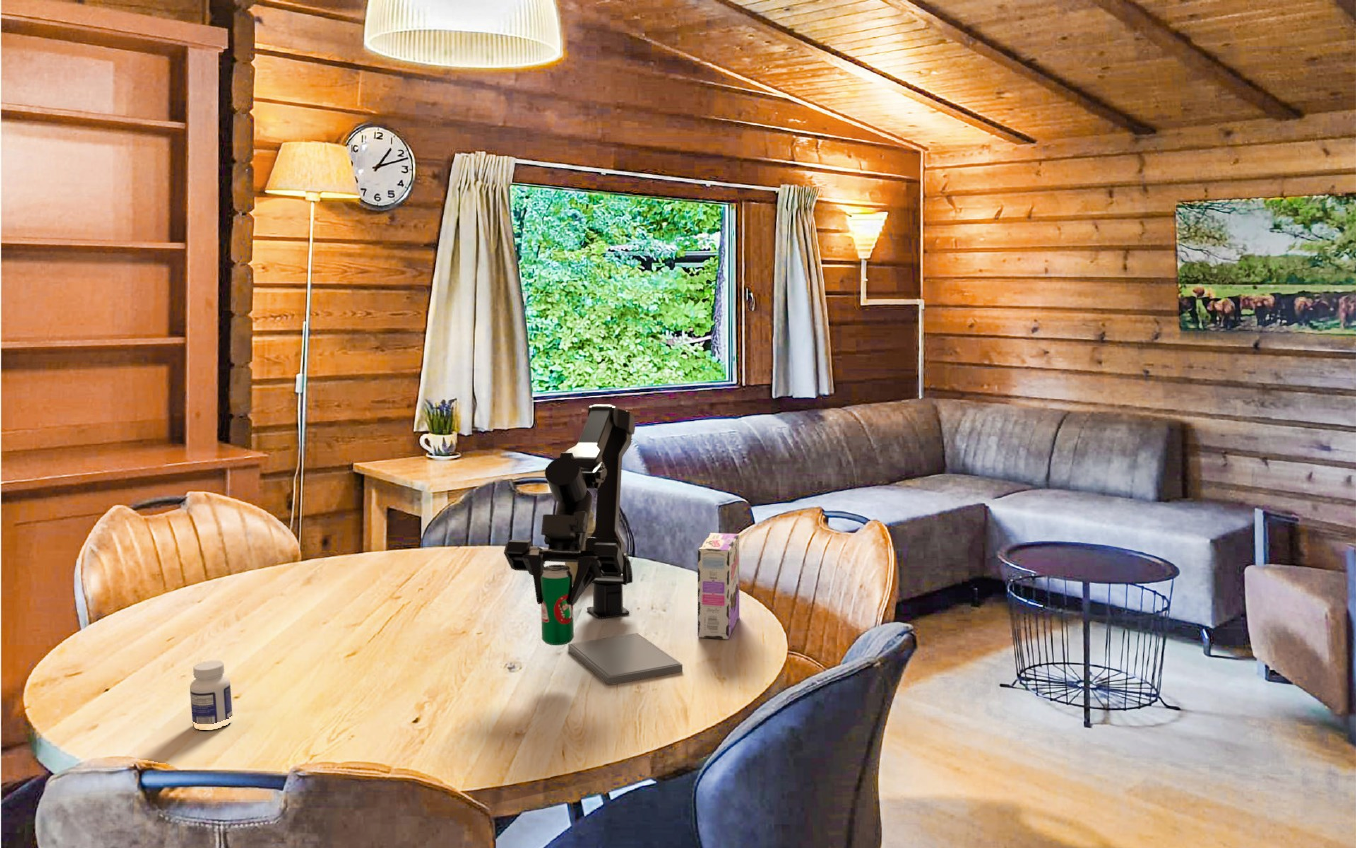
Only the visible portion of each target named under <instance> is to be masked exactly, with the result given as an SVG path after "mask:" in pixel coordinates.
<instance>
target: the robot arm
mask: <svg viewBox="0 0 1356 848" xmlns="http://www.w3.org/2000/svg"><path fill="white" fill-rule="evenodd" d="M635 431H636V419H635V416H634V415H633V414H632V413H631V412H630V411H629V410H625V409H621V408H619V407H618V406H616V405H613V404H593V405H589V407H588V411H587V419H586V421H585V424H584V427H583V429H582V431H581V434H580V435H579V436H580V437H579V439H578V442H577V444H576V445H575V446H573V447H570V448H569V449H567V450H566V451H565V452H564V451H562V452H560V455H559V457H557V458H555V459H553V460H551V461H550V463H548V465H547V466H545V469H544V477H545V479H546V482H547V484H548V487H549V489H550V492H551V495H552V498H553V499H554V501H556V502H557V506H556V510H555V513H554V514H548V513H547V514H546V513H545V514H543V515H542V522H541V531H540V532H541V533H540V534H541V535H542V536H544V538H543V542H544V544H545V545H548V548H541V547H540V546H534V545H533V542H532V540H530V539H528V540H525V539H510V540H509V541H507V542H506V544H505V546H504V551H503V554H504V557H505V558H506V560H507V562H508V564H509V566H510V569H511V570H513V571H522V572H528V573H529V574H528V575H530V576H532V577H533V578H532V579H533V582H534V585H533V586H534V591H535V599H536V602H537V605H541V581H540V575H541V573H542V572H543V568H544V567H545V564H546V562H551V563H553V562H554V563H565V562H574V563H578V568H577V573H576V577H575V580H574V582H573V588H572V591H571V596H570V605H571V606H573V607H574V605H576V603H577V602H578V600H579V599H580V597H581V596H582V594H583V593H584V592H585V591H586V589H587V588H588V587H589V586H590V585H591V584H592V606H588V607H587V608H586V610H587V611H588V612H589V613H590V614H592V615H593V616H595V617H596V618H597V619H604V618H605V619H606V618H611V617H612V618H614V617H619V616H625V615H630V610H628V609H626V608H625V607H624V594H623V593H624V592H623V591H624V590H623V588H624V587H623V586H627V585H629V584H632V583H633V581H634V580H633V577H634V576H633V568H632V564H631V560H630V559H629V554H628V553H627V552H626V551H627V549H626V548H627V545H626V544H625V542H624V540H623V537H622V535H621V534H620V532H619V525H620V524H619V523H620V506H621V505H620V504H621V490H622V489H621V485H622V469H623V467H622V466H623V457H624V455H625V454H626V452H627V451H628V449H629V448H630V447H631V445H632V436H633V435H634V434H635ZM588 489H592V490H593V489H594V490H596V505H595V507H596V508H595V520H594V521H595V530H594V532H593V533H592V535H591V536H590V537H588V533H587V529H588V523H589V518H590V512H591V510H592V511H593V507H592V506H593V502H594V501H593V500H594V496H593V494H592V493H591V492H590V490H588ZM587 537H588V538H587ZM585 539H587V540H586V542H585ZM584 545H585V551H583V550H584Z"/></svg>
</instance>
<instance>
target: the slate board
mask: <svg viewBox="0 0 1356 848" xmlns="http://www.w3.org/2000/svg"><path fill="white" fill-rule="evenodd" d="M567 646H568V647H567V649H568V650H567V651H568V652H569V653H571V654H572V655H573V657H575V658H576V659H577V660H579V661H580V662H581V664H583V665H584V666H586V667H587V668H588V669H589V670H590V671H591V672H592V673H593V674H595V675H596V676H597V677H598V678H599V679H601V680H602V681H603V682H604V683H605V684H606V685H608V686H611V685H616V684H617V685H618V684H622V683H627V682H628V683H629V682H633V681H637V680H644V679H651V678H655V677H656V678H657V677H659V676H660V677H661V676H667V675H672V674H677V673H683V664H682V663H681V662H680V661H678V660H676V659H675V658H674V657H672V656H671V655H669V653H667V652H666V651H664V650H662V649H661V648H659V647H658V646H657V645H655V644H654V643H652V642H651V641H649V640H648V639H646V638H645V637H644V636H642V635H640V634H639V632H635V633H627V634H623V635H616V636H610V637H603V638H599V639H598V638H597V639H592V640H585V641H579V642H572V643H571V642H570V643H568V644H567Z"/></svg>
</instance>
